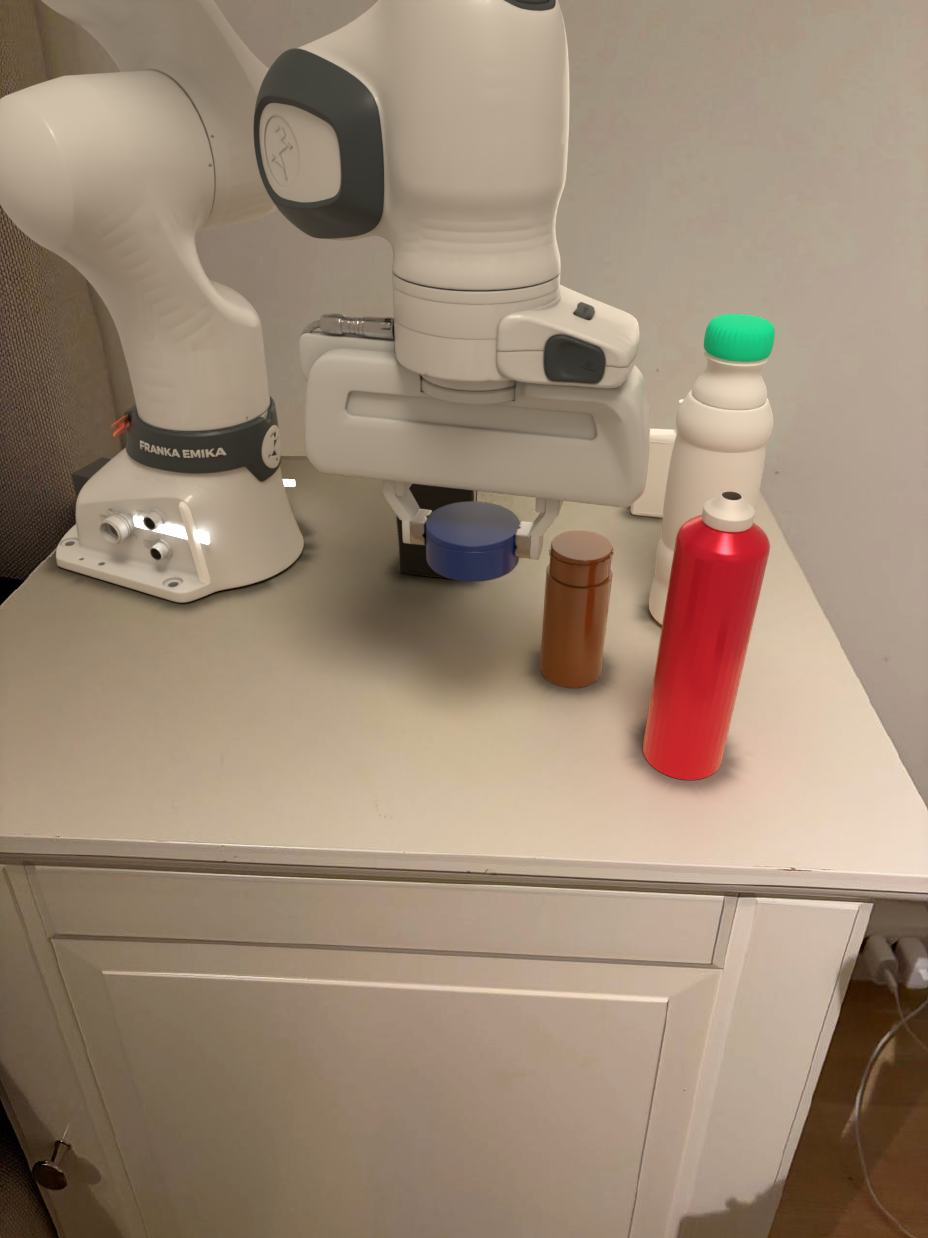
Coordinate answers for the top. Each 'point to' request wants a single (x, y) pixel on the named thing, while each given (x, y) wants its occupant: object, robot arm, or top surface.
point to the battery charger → (432, 499)
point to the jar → (576, 608)
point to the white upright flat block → (656, 473)
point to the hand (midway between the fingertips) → (473, 547)
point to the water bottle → (717, 434)
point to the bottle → (704, 637)
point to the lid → (471, 541)
